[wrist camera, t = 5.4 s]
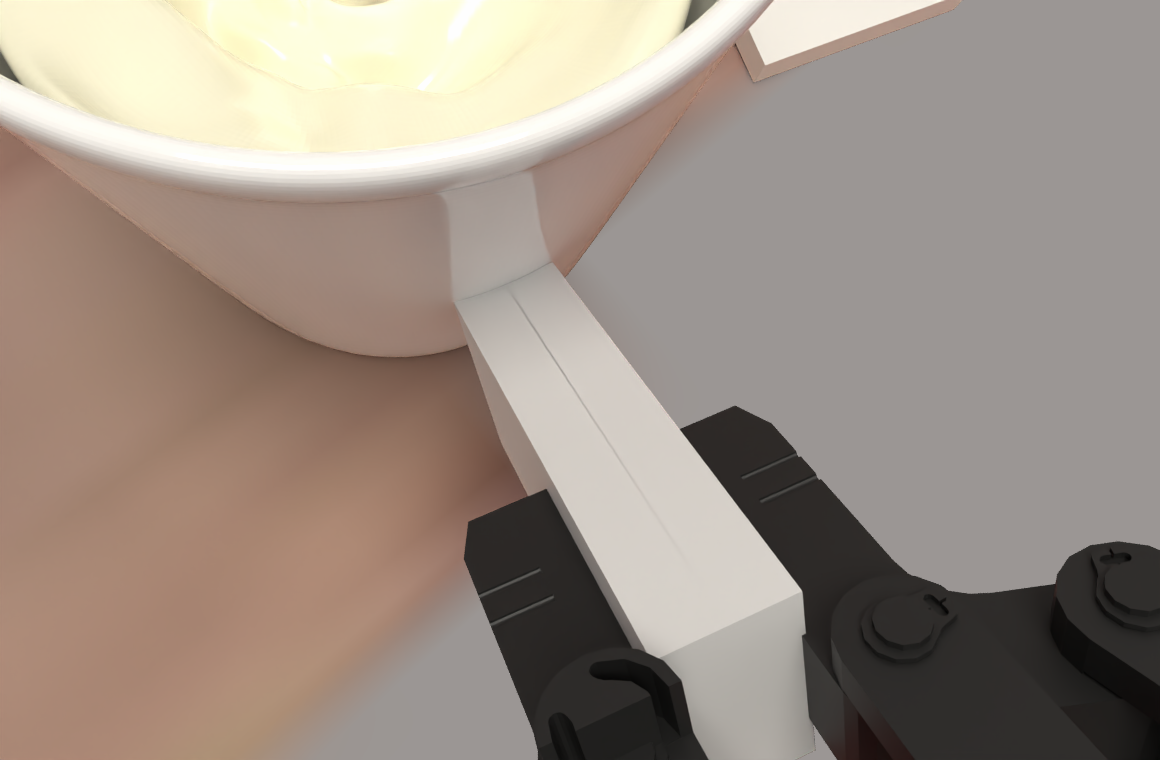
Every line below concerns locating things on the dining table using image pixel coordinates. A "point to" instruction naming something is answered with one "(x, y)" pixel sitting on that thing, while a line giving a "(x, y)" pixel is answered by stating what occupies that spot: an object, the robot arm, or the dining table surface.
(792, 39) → the gauge housing
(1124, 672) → the robot arm
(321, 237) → the candle holder
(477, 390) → the dining table surface
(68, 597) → the dining table surface
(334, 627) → the dining table surface
